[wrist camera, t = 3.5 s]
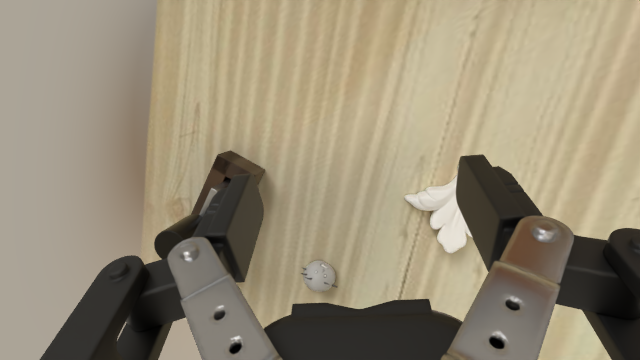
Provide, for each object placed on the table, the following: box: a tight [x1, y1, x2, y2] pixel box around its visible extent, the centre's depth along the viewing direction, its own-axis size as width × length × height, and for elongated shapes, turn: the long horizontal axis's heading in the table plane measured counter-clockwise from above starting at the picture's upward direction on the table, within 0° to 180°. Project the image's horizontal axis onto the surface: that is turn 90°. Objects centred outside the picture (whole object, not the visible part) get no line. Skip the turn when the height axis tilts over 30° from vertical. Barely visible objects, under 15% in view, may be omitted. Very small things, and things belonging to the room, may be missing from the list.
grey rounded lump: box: [301, 260, 337, 292], centre depth 33 cm, size 3×4×3 cm
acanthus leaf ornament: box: [405, 165, 473, 253], centre depth 30 cm, size 8×7×2 cm
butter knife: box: [154, 179, 231, 259], centre depth 30 cm, size 8×3×10 cm, turn 152°
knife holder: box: [191, 151, 265, 215], centre depth 33 cm, size 12×4×3 cm, turn 152°
